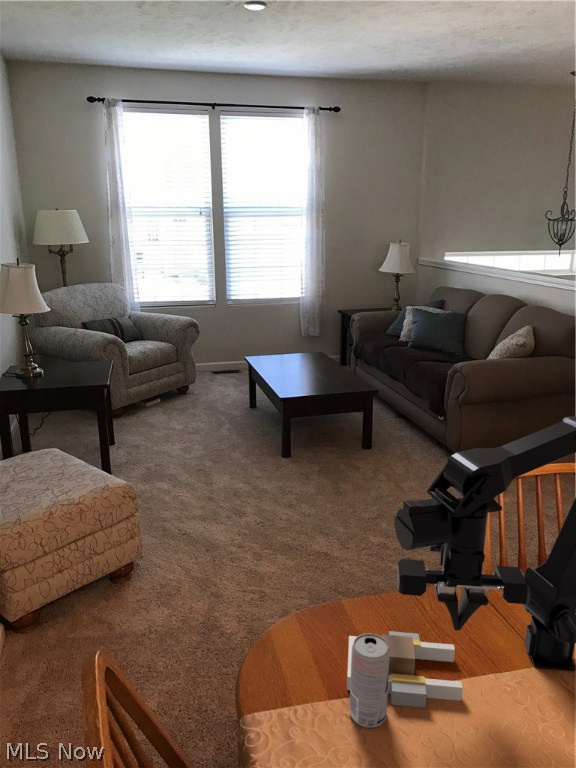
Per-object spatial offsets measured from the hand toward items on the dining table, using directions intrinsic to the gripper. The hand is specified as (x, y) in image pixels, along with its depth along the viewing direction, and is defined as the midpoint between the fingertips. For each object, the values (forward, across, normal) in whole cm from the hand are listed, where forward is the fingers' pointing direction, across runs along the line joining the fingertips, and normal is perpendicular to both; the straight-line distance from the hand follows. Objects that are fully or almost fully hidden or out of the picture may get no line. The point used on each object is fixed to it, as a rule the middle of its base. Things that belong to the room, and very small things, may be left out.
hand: (456, 628), depth 91 cm
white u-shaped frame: (+9, +7, 0) cm, 12 cm away
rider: (+9, +9, 0) cm, 13 cm away
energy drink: (+9, +13, +9) cm, 19 cm away
